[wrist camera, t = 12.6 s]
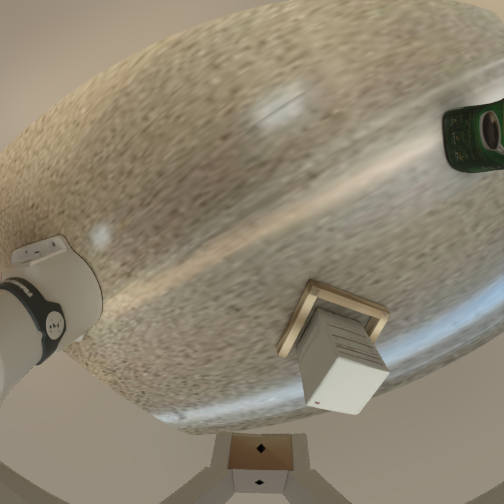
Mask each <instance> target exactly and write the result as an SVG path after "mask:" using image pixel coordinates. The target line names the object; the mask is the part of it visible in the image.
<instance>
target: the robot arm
mask: <svg viewBox="0 0 504 504" xmlns="http://www.w3.org/2000/svg"><path fill="white" fill-rule="evenodd" d="M101 312H102V296H101V291H100V288H99V285H98V282H97V280H96V277H95V275H94V274H93V272H92V270H91V269H90V267H89V266H88V265H87V264H86V262H85V261H84V260H83V259H82V258H81V257H80V256H78V255H77V254H76V253H75V252H74V251H73V250H72V249H71V247H70V245H69V244H68V242H67V240H66V239H65V238H64V236H62V235H57V236H54V237H50V238H47V239H44V240H41V241H38V242H35V243H32V244H29V245H26V246H23V247H20V248H18V249H16V250H14V251H13V252H12V257H11V265H9V266H7V267H5V268H4V269H3V271H2V275H1V283H0V406H1V404H2V402H3V400H4V399H5V397H6V396H7V394H8V393H9V392H10V391H11V389H12V388H13V387H14V386H15V385H16V384H17V383H18V382H19V381H20V380H21V379H22V378H23V377H24V376H25V375H26V374H27V373H28V372H29V371H30V370H31V369H32V368H33V367H34V366H35V365H40V364H41V363H43V362H44V361H46V360H47V359H48V358H49V357H50V356H51V355H52V354H57V353H59V352H60V351H62V350H63V349H64V348H66V347H67V346H68V345H70V344H71V343H73V342H74V341H76V342H81V341H82V340H83V339H84V338H85V336H86V333H87V331H88V330H89V329H90V328H91V327H93V326H94V325H95V324H96V323H97V322H98V320H99V318H100V315H101ZM234 492H240V493H280V494H281V493H282V494H283V495H284V496H285V497H286V499H287V500H288V501H289V503H290V504H352V503H351V502H349V501H348V500H347V499H346V498H345V497H344V496H343V495H341V494H340V493H339V492H338V491H337V490H336V489H335V488H334V487H333V486H332V485H331V484H329V483H328V482H327V481H326V480H325V479H324V478H323V477H322V476H321V475H320V474H319V473H318V472H317V471H316V470H311V469H310V461H309V452H308V444H307V436H306V434H305V433H303V434H302V433H301V434H247V433H234V432H223V431H218V433H217V435H216V440H215V445H214V450H213V455H212V460H211V466H210V467H205V468H204V469H203V470H202V471H201V472H199V473H198V474H197V475H196V476H194V477H193V478H192V479H191V480H189V481H188V482H187V483H186V484H184V485H183V486H182V487H180V488H179V489H178V490H177V491H175V492H174V493H173V494H171V495H170V496H169V497H167V498H166V499H165V500H163V501H162V502H161V503H160V504H225V503H226V502H227V501H228V500H229V499H230V498H231V497H232V495H233V494H234ZM0 504H69V503H67V502H66V501H64V500H62V499H60V498H58V497H56V496H54V495H52V494H50V493H49V492H47V491H45V490H43V489H42V488H40V487H38V486H37V485H35V484H33V483H32V482H30V481H29V480H27V479H26V478H24V477H22V476H21V475H20V474H18V473H16V472H15V471H13V470H12V469H11V468H9V467H8V466H7V465H5V464H4V463H3V462H1V461H0ZM465 504H504V482H502V483H500V484H499V485H497V486H496V487H494V488H492V489H491V490H489V491H487V492H485V493H484V494H482V495H480V496H479V497H477V498H475V499H473V500H471V501H469V502H467V503H465Z"/></svg>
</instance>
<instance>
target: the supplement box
mask: <svg viewBox="0 0 504 504" xmlns="http://www.w3.org/2000/svg"><path fill="white" fill-rule="evenodd" d="M296 348H297V353H298V359H299V365H300V371H301V377H302V383H303V390H304V396H305V402H306V405H308V406H312V407H317V408H321V409H326V410H331V411H337V412H343V413H348V414H354V415H357V414H358V413H359V412H360V411H361V410H362V408H363V407H364V406H365V405H366V403H367V402H368V401H369V400H370V398H371V397H372V396H373V394H374V393H375V392H376V391H377V389H378V388H379V387H380V385H381V384H382V382H383V381H384V380H385V378H386V377H387V376H388V374H389V373H390V372H389V370H388V368H387V367H386V365H385V363H384V361H383V360H382V358H381V356H380V355H379V353H378V351H377V350H376V348H375V346H374V345H373V343H372V341H371V339H370V338H369V336H368V334H367V333H366V331H365V329H364V328H363V326H362V325H361V323H360V322H358V321H355V320H352V319H349V318H347V317H344V316H341V315H338V314H335V313H333V312H330V311H327V310H324V309H321V308H317V309H316V311H315V313H314V315H313V317H312V319H311V321H310V323H309V325H308V326H307V328H306V330H305V332H304V334H303V336H302V338H301V340H300V341H299V343H298V345H297V347H296Z"/></svg>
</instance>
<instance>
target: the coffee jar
mask: <svg viewBox="0 0 504 504" xmlns="http://www.w3.org/2000/svg"><path fill="white" fill-rule="evenodd" d="M444 136H445V144H446V151H447V156H448V159H449V161H450V163H451V165H452V166H453V167H454V168H455V169H456V170H458V171H461V172H466V173H479V172H487V171H494V170H503V169H504V98H503V99H502V100H500V101H497V102H493V103H489V104H483V105H476V106H467V107H460V108H455V109H451V110H449V111H448V112H447V113H446V114H445V117H444Z"/></svg>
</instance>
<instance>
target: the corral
mask: <svg viewBox="0 0 504 504" xmlns="http://www.w3.org/2000/svg"><path fill="white" fill-rule="evenodd" d="M317 297H318V298H321V299H324V300H327V301H330V302H332V303H335V304H338V305H341V306H344V307H347V308H350V309H352V310H355V311H358V312H361V313H364V314H367V315H370V316H372V317H371V318H370V320H369V322H368V324H367V325H366V327H365V331H366V333H367V334H368V336H369V338H370V339H371V341H372V343H373V344H374V342H375V340H376V339H377V337H378V335H379V334H380V332H381V330H382V329H383V327H384V325H385V323H386V322H387V320H388V318H389V316H390V312H389V311H388V310H387V309H386V308H385V307H384V306H382V305H379V304H376V303H374V302H371V301H368V300H365V299H363V298H360V297H357V296H355V295H352V294H349V293H347V292H344V291H341V290H339V289H336V288H333V287H330V286H328V285H325V284H322V283H320V282H317V281H314V280H312V279H309V282H308V284H307V286H306V288H305V290H304V292H303V294H302V297H301V299H300V301H299V303H298V305H297V307H296V309H295V311H294V313H293V315H292V317H291V319H290V321H289V323H288V325H287V327H286V329H285V331H284V333H283V335H282V337H281V339H280V341H279V343H278V345H277V352H278V356H281V357H284V358H286V356H287V355H288V353H289V351H290V349H291V347H292V345H293V343H294V342H295V340H296V338H297V336H298V334H299V332H300V330H301V328H302V326H303V324H304V322H305V320H306V318H307V316H308V314H309V312H310V310H311V308H312V306H313V304H314V302H315V300H316V298H317Z"/></svg>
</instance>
